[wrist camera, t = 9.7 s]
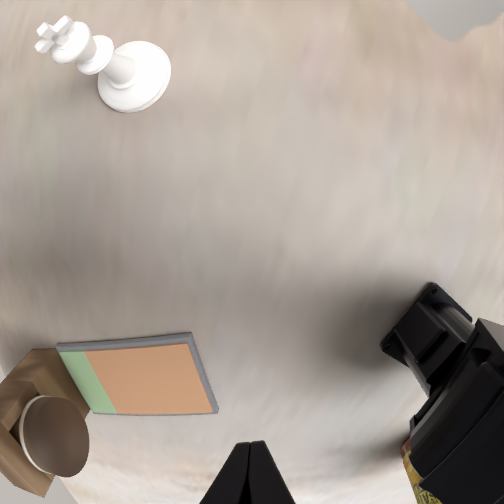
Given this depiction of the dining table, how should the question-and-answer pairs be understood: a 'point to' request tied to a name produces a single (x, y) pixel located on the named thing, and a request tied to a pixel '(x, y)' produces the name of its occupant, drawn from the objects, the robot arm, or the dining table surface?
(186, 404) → the board
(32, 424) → the peg
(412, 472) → the sauce bottle
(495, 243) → the dining table surface
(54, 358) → the block
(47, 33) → the chess piece
